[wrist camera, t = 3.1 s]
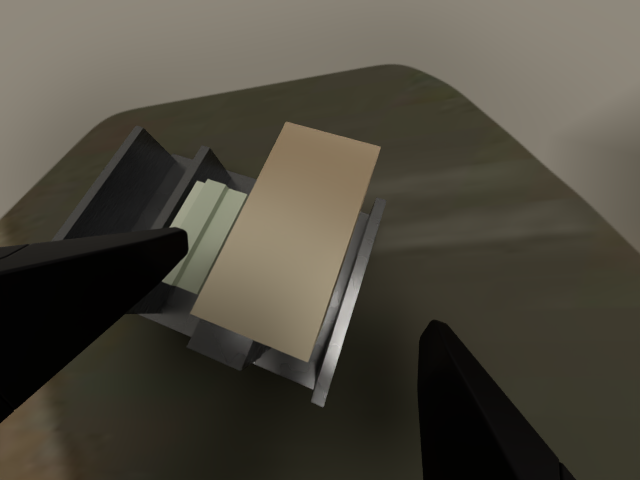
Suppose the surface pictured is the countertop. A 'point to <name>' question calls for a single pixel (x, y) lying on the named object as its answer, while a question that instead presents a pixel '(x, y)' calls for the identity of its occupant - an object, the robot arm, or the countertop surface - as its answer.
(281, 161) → the light wooden block
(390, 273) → the countertop surface
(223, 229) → the offcuts
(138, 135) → the rack
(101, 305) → the robot arm
